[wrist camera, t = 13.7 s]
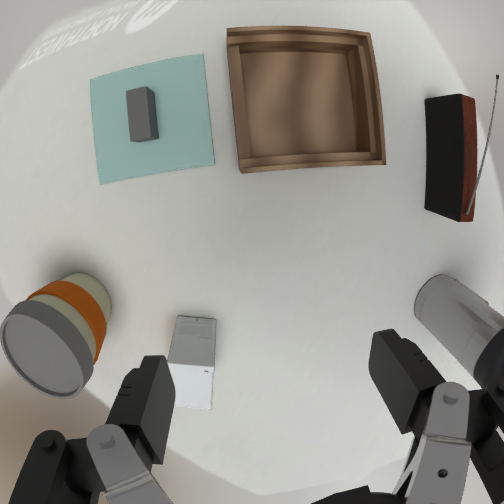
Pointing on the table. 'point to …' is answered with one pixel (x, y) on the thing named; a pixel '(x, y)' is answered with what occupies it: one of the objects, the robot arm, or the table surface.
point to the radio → (452, 156)
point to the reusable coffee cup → (58, 335)
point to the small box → (193, 361)
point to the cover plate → (170, 114)
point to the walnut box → (304, 98)
